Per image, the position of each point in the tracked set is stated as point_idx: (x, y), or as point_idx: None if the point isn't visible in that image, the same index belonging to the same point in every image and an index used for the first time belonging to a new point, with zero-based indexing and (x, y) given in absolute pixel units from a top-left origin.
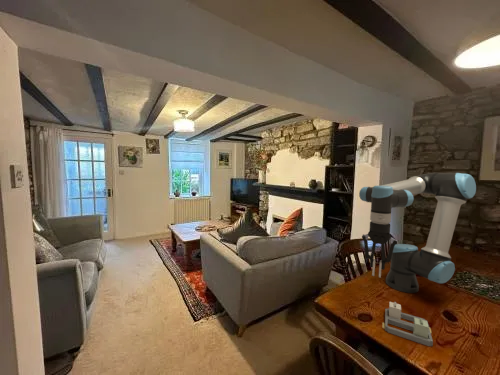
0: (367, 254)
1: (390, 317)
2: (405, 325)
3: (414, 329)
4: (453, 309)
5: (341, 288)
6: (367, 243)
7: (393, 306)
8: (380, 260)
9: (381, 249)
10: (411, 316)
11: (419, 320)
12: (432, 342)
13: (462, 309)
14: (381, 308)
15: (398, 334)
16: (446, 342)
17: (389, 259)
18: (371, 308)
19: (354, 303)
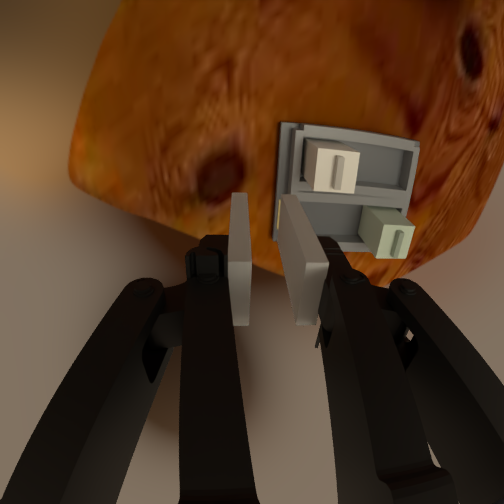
0: (152, 372)
1: (308, 186)
2: (349, 203)
3: (367, 240)
4: (483, 19)
5: (113, 23)
6: (97, 496)
7: (328, 183)
8: (313, 266)
9: (338, 469)
10: (380, 143)
11: (394, 234)
12: None
13: (498, 17)
14: (280, 83)
15: None
16: (430, 188)
17: (399, 354)
18: (241, 103)
19: (175, 105)
